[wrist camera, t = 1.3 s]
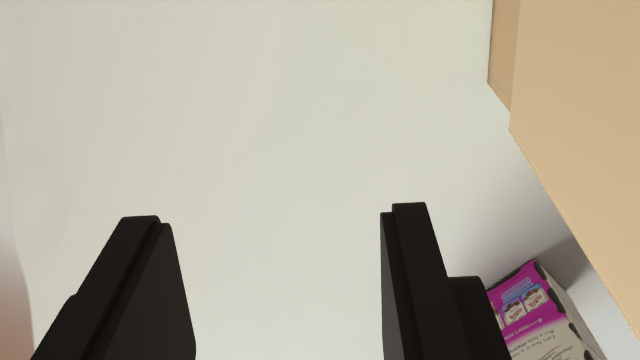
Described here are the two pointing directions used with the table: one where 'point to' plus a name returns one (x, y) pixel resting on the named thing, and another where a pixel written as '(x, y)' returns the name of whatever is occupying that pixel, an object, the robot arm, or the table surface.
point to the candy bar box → (540, 318)
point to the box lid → (585, 128)
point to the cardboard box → (503, 48)
